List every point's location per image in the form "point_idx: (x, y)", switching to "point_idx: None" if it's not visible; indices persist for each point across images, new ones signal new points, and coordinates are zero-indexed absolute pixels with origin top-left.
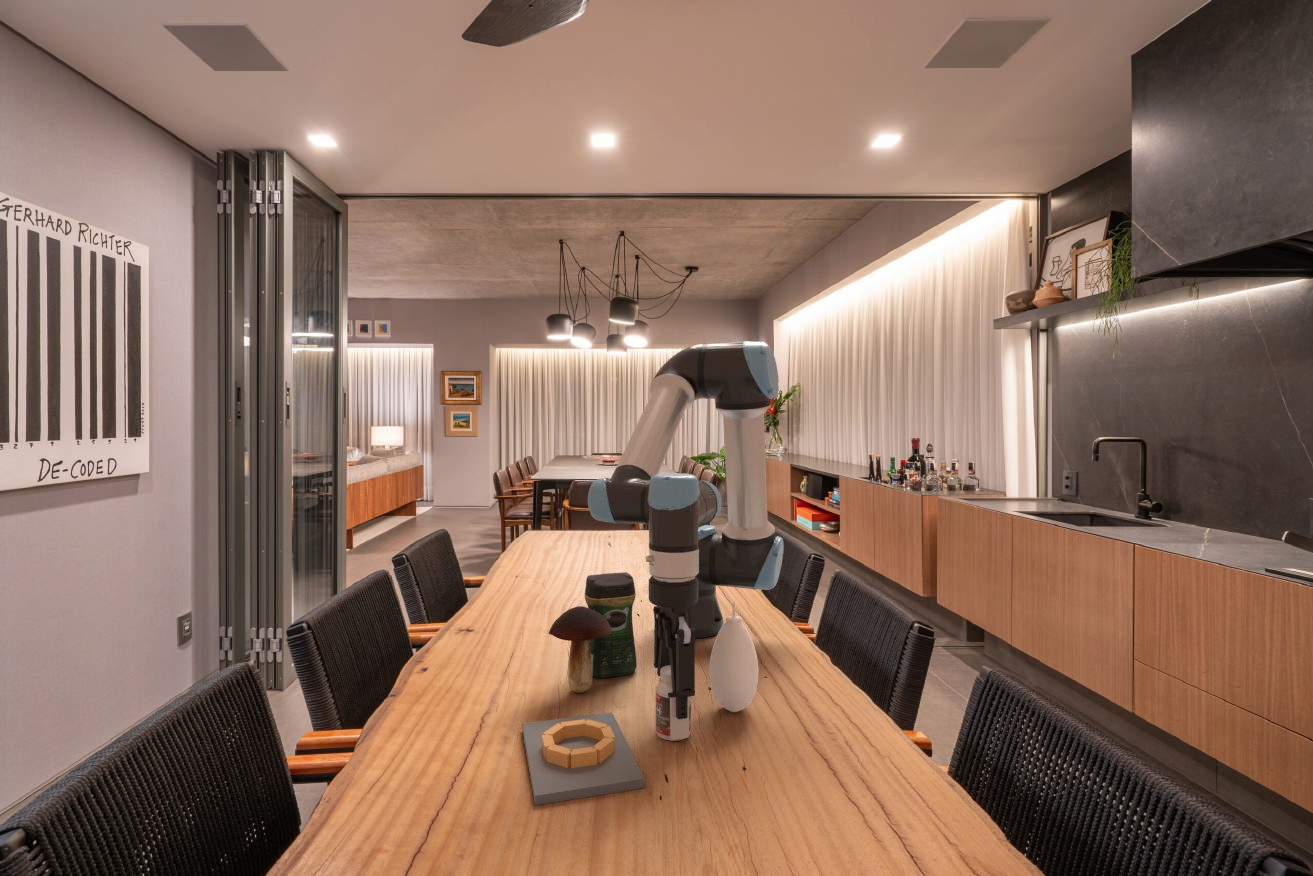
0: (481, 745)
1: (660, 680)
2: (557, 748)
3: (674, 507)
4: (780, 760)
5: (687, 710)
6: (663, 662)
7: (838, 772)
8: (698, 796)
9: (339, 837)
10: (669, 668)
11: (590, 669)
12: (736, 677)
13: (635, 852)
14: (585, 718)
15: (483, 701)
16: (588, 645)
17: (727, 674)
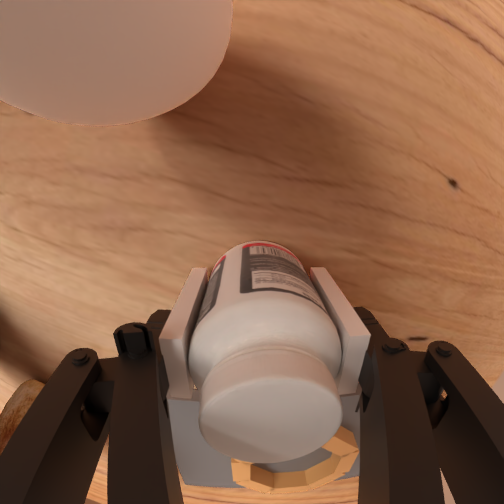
0: (217, 497)
1: (191, 396)
2: (321, 482)
3: None
4: (446, 94)
5: (376, 320)
6: (172, 445)
7: (482, 40)
8: (475, 299)
9: None
10: (249, 439)
11: (27, 409)
12: (226, 20)
13: (489, 379)
14: (179, 436)
15: (98, 475)
16: (3, 443)
17: (198, 53)
